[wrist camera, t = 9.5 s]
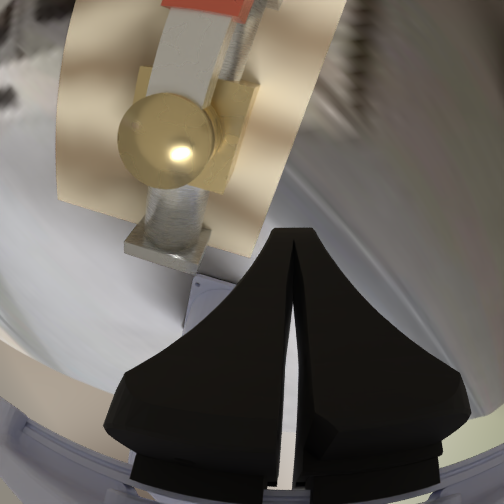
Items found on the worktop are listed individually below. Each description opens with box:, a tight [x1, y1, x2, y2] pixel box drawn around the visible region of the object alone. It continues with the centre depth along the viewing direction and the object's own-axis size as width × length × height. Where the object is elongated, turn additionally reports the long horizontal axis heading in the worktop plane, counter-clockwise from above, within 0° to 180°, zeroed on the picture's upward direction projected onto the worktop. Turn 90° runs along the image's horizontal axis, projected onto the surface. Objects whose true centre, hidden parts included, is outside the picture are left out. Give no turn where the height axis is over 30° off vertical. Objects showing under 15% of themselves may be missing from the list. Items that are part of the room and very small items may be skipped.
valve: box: [124, 0, 283, 276], centre depth 15 cm, size 18×6×4 cm, turn 164°
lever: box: [117, 0, 254, 189], centre depth 9 cm, size 15×4×2 cm, turn 162°
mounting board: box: [56, 0, 347, 258], centre depth 15 cm, size 22×18×1 cm
